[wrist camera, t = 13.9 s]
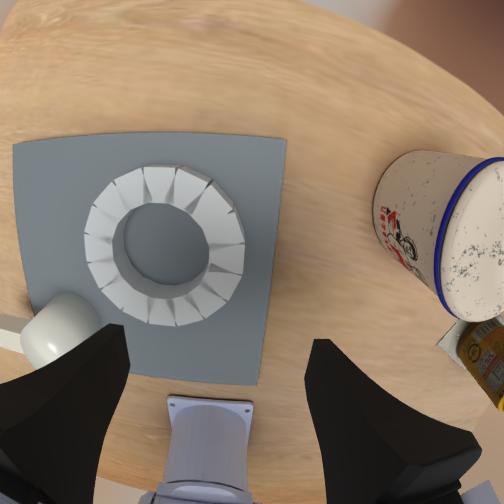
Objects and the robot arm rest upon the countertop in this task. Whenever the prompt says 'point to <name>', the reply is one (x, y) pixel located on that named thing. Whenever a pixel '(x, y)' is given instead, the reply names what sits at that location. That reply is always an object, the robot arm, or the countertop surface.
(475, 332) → the condiment
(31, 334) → the cream post on cylinder
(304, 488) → the countertop surface
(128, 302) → the stand
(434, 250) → the teacup with lid
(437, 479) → the robot arm
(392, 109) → the countertop surface
